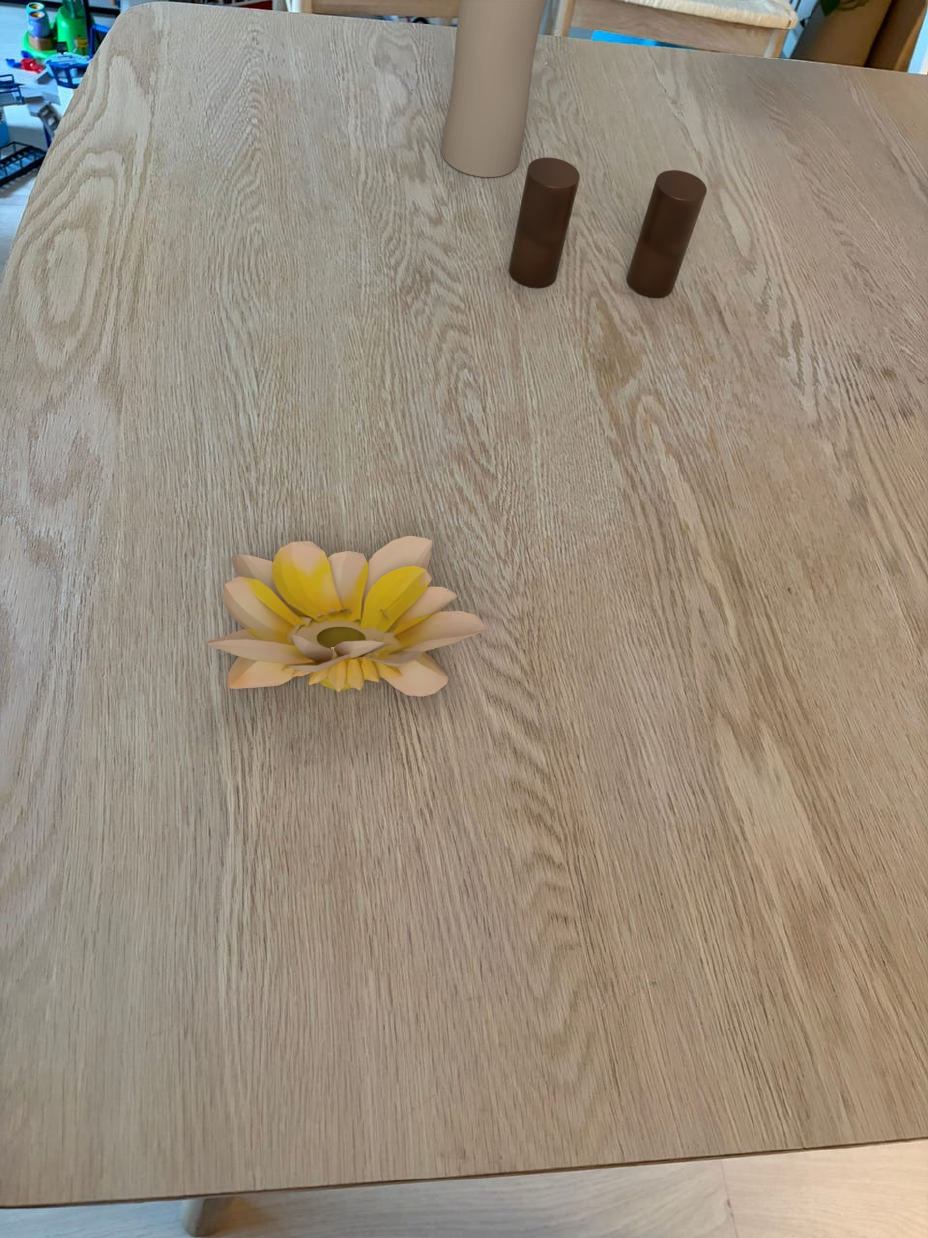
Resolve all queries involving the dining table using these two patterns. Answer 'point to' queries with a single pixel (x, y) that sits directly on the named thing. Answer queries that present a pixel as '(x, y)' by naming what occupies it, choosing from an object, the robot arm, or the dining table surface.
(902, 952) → the dining table surface
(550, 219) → the marker row
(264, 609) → the decorative flower
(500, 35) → the candle
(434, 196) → the dining table surface
